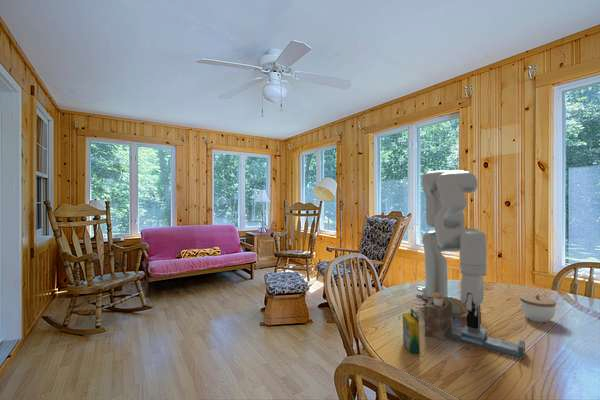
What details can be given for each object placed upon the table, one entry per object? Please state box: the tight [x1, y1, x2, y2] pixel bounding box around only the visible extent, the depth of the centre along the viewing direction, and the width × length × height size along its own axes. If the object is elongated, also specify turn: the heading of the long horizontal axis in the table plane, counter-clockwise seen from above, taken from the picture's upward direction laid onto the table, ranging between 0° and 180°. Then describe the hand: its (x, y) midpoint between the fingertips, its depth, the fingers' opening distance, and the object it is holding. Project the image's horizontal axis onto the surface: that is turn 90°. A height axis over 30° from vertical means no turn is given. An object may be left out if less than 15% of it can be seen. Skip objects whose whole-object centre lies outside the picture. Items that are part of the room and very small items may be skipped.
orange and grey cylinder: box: [433, 293, 443, 307], centre depth 103 cm, size 3×3×7 cm
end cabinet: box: [423, 299, 453, 341], centre depth 103 cm, size 6×10×10 cm, turn 138°
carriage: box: [461, 304, 488, 345], centre depth 96 cm, size 6×7×11 cm
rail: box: [445, 326, 526, 360], centre depth 94 cm, size 21×5×3 cm, turn 48°
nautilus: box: [411, 295, 467, 319], centre depth 119 cm, size 8×22×15 cm
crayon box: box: [402, 307, 421, 355], centre depth 93 cm, size 7×3×12 cm, turn 178°
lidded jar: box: [519, 294, 557, 323], centre depth 113 cm, size 11×11×9 cm
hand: (473, 324), depth 96 cm, fingers closed on carriage, 3 cm apart
